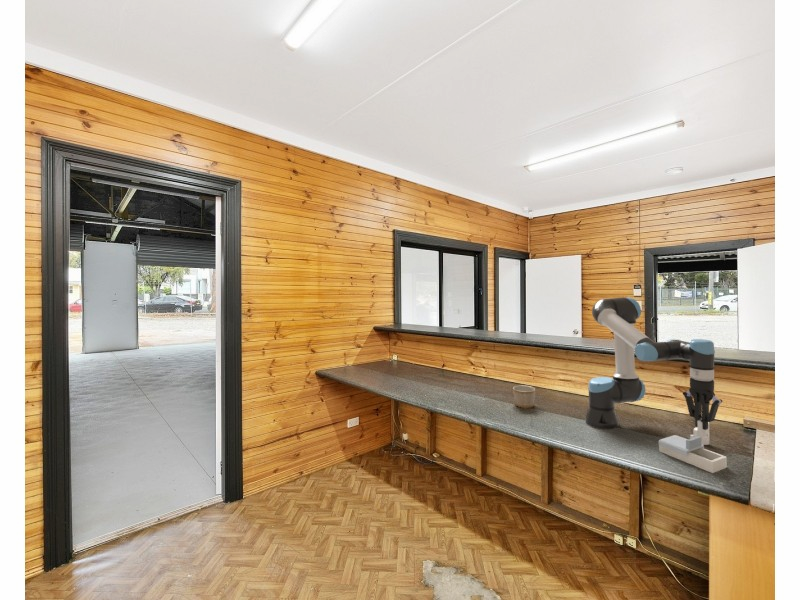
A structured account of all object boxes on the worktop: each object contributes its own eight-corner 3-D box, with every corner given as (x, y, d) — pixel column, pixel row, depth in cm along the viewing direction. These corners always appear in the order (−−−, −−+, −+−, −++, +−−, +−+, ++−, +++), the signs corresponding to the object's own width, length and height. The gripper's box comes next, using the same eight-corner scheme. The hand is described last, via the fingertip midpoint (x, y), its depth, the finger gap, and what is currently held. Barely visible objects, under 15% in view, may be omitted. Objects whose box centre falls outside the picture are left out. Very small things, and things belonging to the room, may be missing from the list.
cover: (658, 445, 158) (658, 431, 158) (675, 439, 163) (675, 426, 162) (686, 456, 148) (686, 442, 148) (704, 449, 152) (704, 436, 152)
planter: (513, 408, 218) (512, 391, 217) (513, 401, 230) (513, 384, 229) (535, 409, 214) (535, 392, 213) (535, 402, 226) (534, 385, 225)
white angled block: (718, 438, 163) (709, 422, 163) (699, 450, 163) (690, 434, 163) (711, 434, 167) (702, 419, 166) (693, 446, 167) (683, 431, 166)
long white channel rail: (659, 451, 160) (659, 441, 159) (672, 446, 163) (672, 437, 163) (712, 473, 141) (712, 462, 141) (726, 467, 144) (726, 456, 144)
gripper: (678, 376, 151) (678, 431, 152) (715, 384, 139) (714, 444, 140) (689, 373, 154) (689, 428, 155) (727, 381, 142) (726, 440, 143)
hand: (701, 436), depth 148 cm, fingers closed
